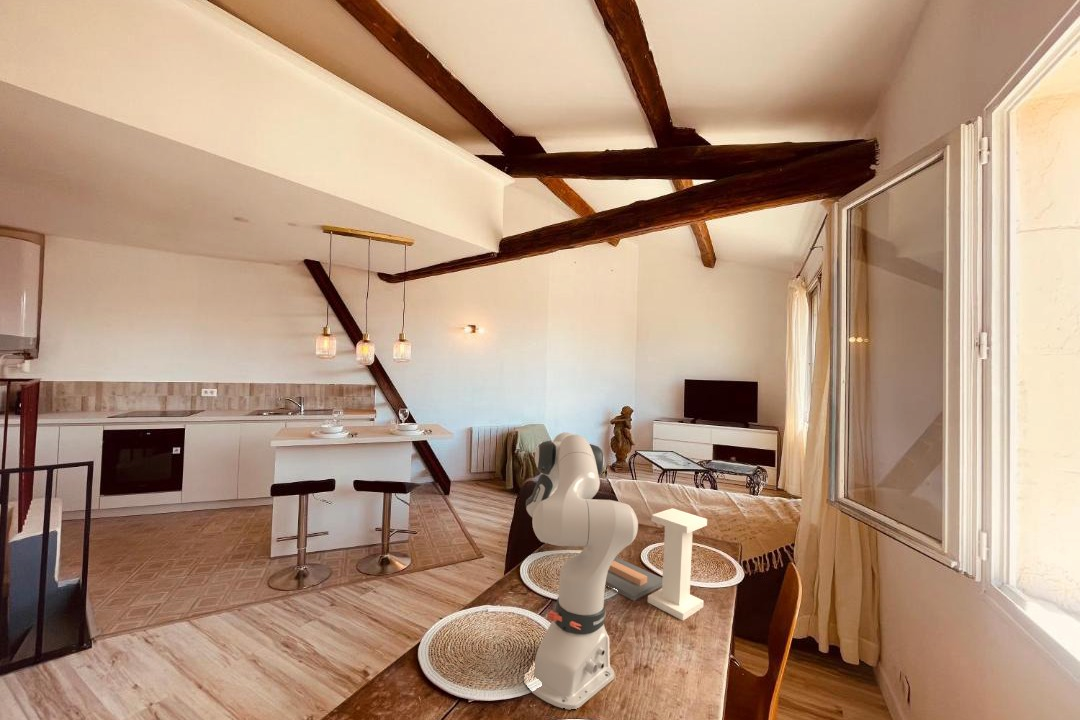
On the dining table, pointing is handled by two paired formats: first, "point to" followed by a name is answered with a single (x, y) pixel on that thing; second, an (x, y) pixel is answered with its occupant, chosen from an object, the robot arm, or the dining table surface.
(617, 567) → the slat
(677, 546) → the stand
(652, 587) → the mat
